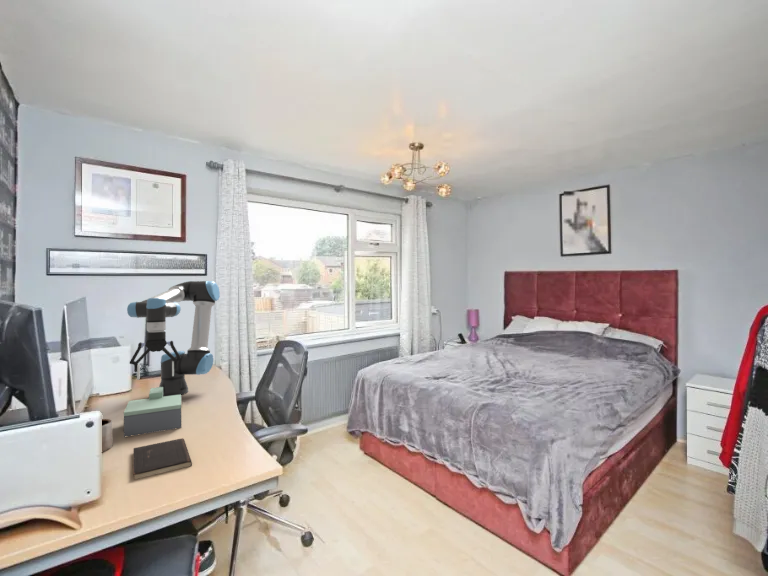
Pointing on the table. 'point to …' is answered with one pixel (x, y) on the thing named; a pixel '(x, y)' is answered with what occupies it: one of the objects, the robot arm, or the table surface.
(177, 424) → the tub
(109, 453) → the table surface
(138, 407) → the lid
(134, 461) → the hardcover book
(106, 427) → the planter
